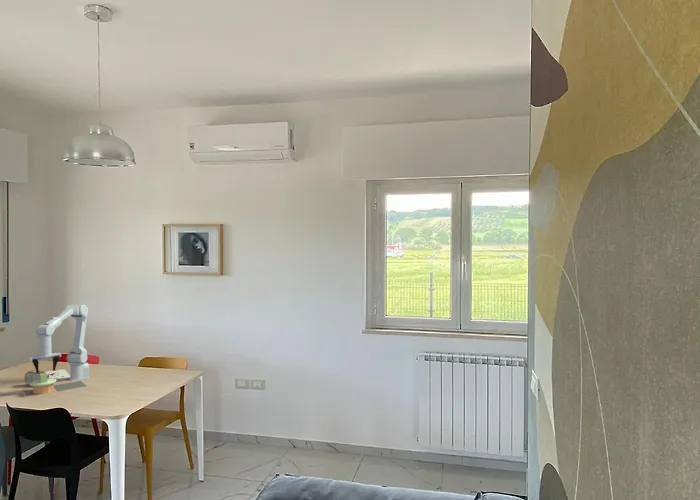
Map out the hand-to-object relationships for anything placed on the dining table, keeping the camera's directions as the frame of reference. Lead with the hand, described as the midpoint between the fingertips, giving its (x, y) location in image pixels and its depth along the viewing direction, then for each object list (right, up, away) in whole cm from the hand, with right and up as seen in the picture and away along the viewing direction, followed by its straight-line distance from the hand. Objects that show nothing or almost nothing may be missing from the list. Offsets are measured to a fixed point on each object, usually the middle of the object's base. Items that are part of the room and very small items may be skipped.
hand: (45, 371), depth 261 cm
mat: (+9, -10, +7) cm, 15 cm away
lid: (0, -5, -3) cm, 6 cm away
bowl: (0, -10, -3) cm, 11 cm away
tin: (-11, -11, +9) cm, 18 cm away
